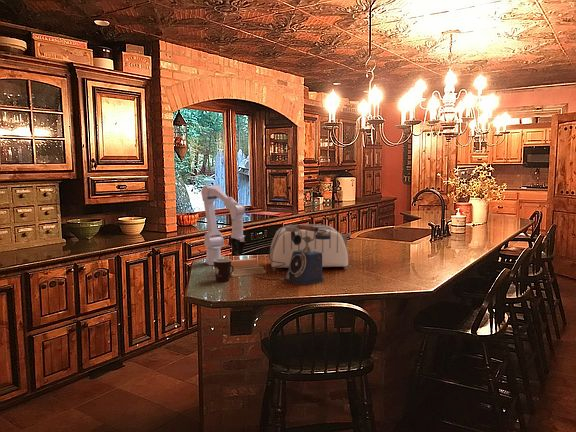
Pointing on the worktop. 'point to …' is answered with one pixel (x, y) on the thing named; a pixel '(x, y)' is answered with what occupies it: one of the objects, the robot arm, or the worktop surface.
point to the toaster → (330, 248)
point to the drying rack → (247, 270)
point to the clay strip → (244, 262)
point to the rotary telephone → (303, 258)
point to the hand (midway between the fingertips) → (237, 253)
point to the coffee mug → (222, 269)
